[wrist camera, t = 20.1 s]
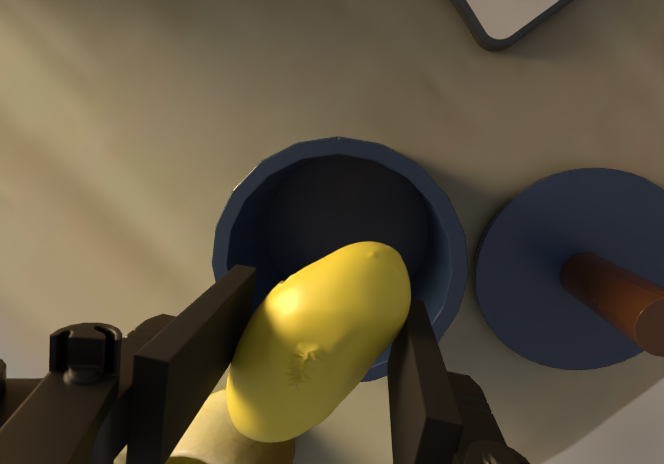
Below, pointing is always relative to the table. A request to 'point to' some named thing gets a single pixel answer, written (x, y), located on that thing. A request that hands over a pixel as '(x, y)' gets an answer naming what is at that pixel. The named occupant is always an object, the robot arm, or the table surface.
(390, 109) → the table surface
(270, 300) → the lemon
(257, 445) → the mug
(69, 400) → the robot arm
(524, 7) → the phone case
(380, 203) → the tin
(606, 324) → the lid
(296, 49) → the table surface
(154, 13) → the table surface
